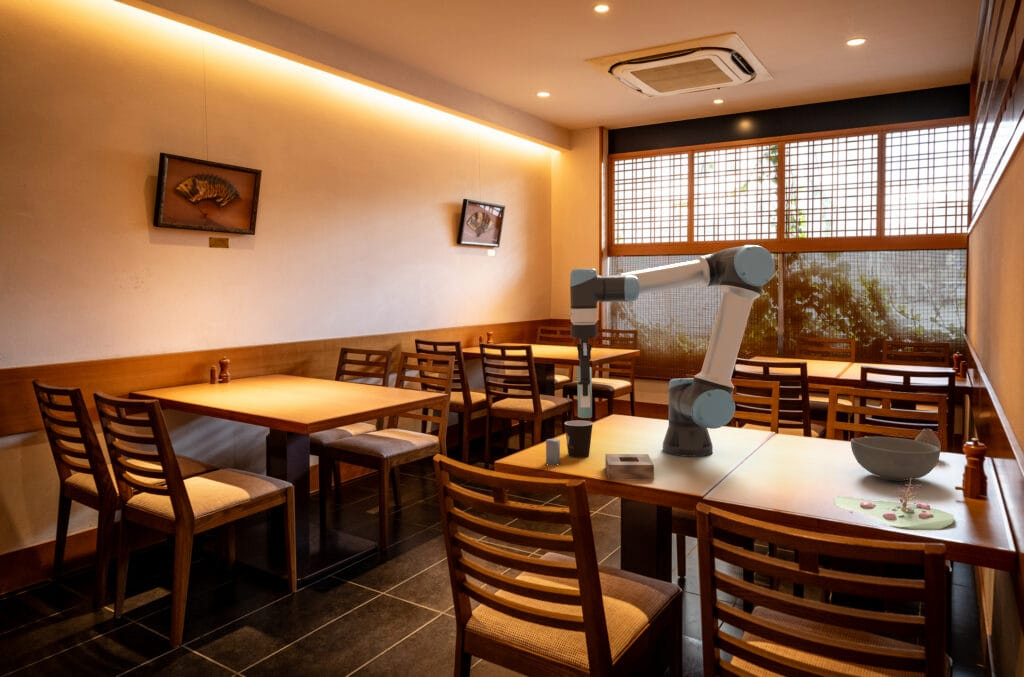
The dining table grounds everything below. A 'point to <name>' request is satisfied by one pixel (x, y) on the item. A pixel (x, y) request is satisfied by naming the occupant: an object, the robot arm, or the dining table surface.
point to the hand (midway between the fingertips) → (584, 405)
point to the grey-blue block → (552, 451)
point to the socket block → (629, 466)
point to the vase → (928, 438)
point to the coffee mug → (578, 438)
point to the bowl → (895, 457)
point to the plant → (900, 512)
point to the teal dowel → (582, 411)
